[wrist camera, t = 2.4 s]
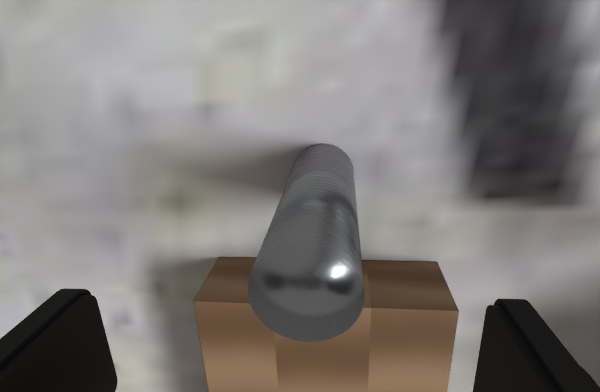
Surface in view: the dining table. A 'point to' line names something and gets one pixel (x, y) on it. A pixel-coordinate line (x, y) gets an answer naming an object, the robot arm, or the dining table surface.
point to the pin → (311, 252)
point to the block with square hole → (336, 351)
